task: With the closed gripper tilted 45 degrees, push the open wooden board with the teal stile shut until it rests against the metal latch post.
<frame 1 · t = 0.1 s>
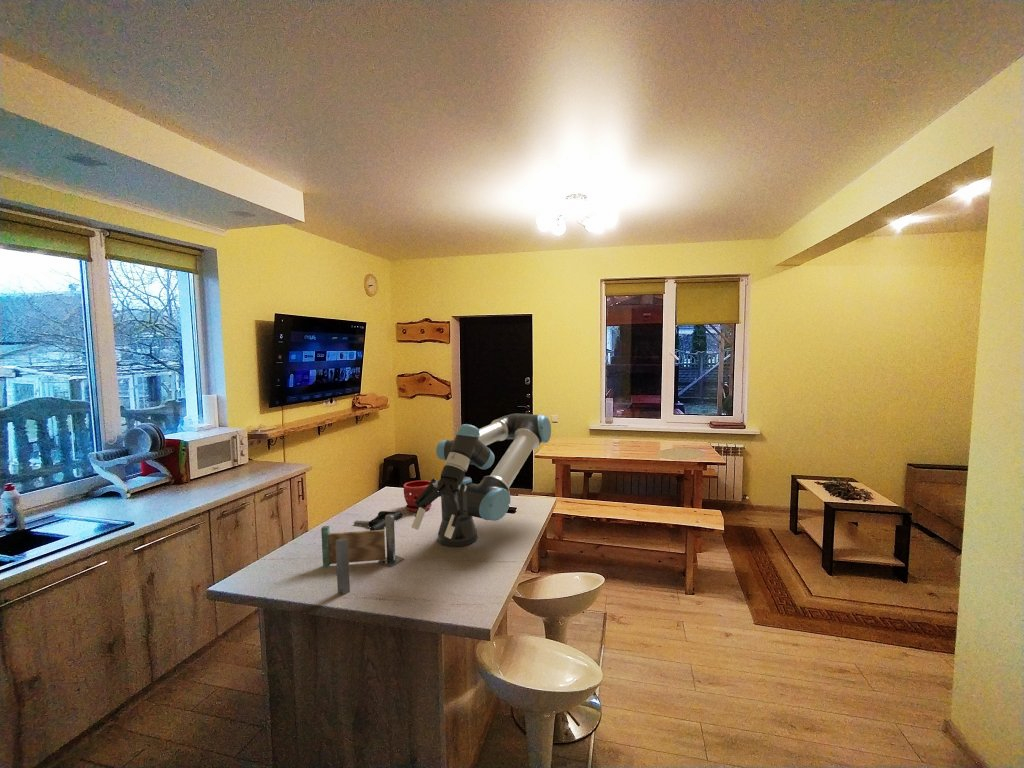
hand: (430, 533, 133), 15 cm above the table, tool tilted 35°, fingers open, 13 cm apart
wooden board: (354, 544, 146), point 7 cm above the table, hinge at -50.0°
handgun: (376, 524, 183), on the table
hinge post: (391, 561, 148), on the table
latch post: (343, 592, 129), on the table
plant pot: (418, 509, 200), on the table
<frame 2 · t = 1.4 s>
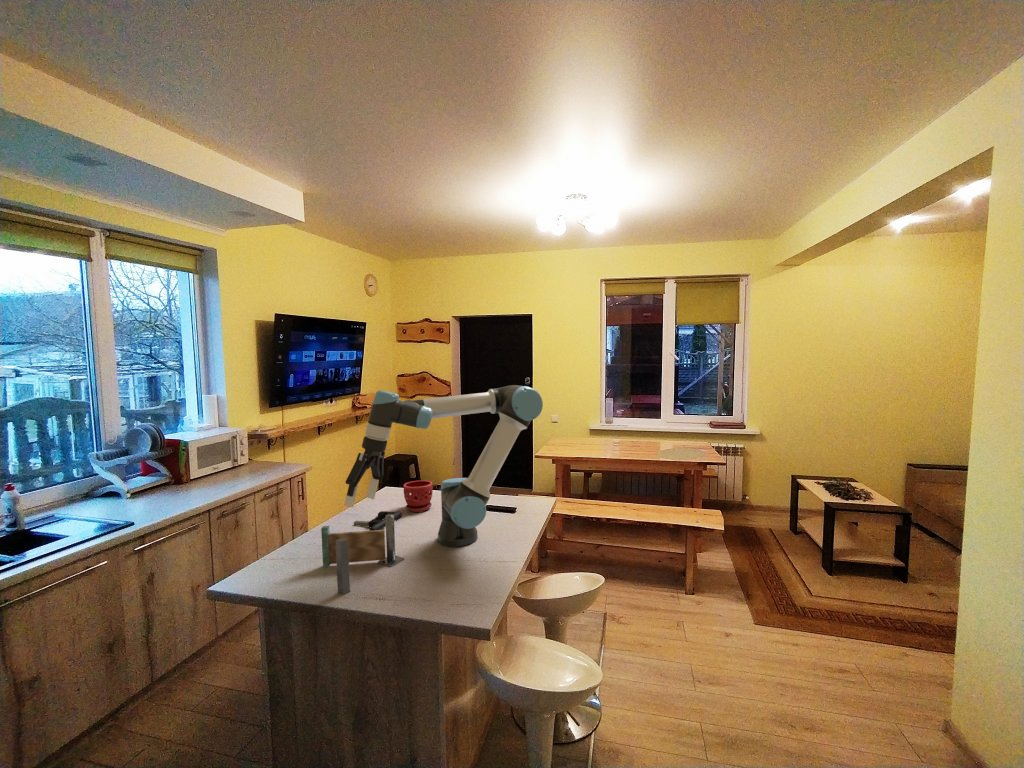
hand: (359, 501, 140), 23 cm above the table, tool tilted 15°, fingers open, 13 cm apart
nothing on the table moved.
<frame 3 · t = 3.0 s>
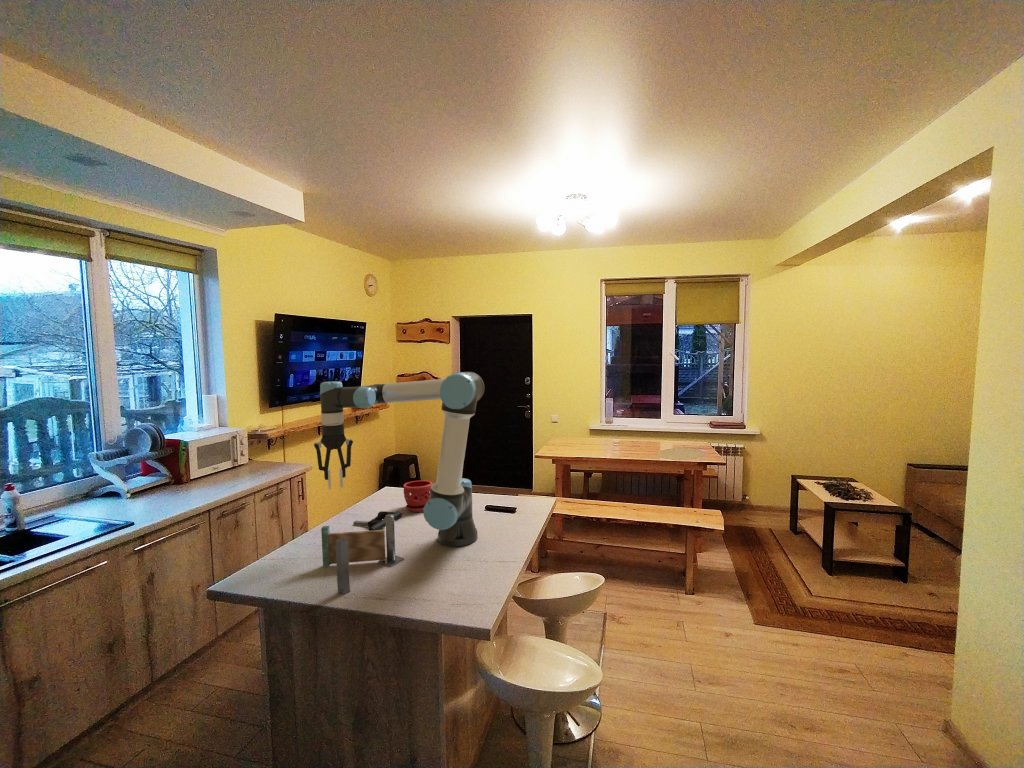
hand: (335, 487, 159), 23 cm above the table, tool pointing down, fingers open, 3 cm apart
nothing on the table moved.
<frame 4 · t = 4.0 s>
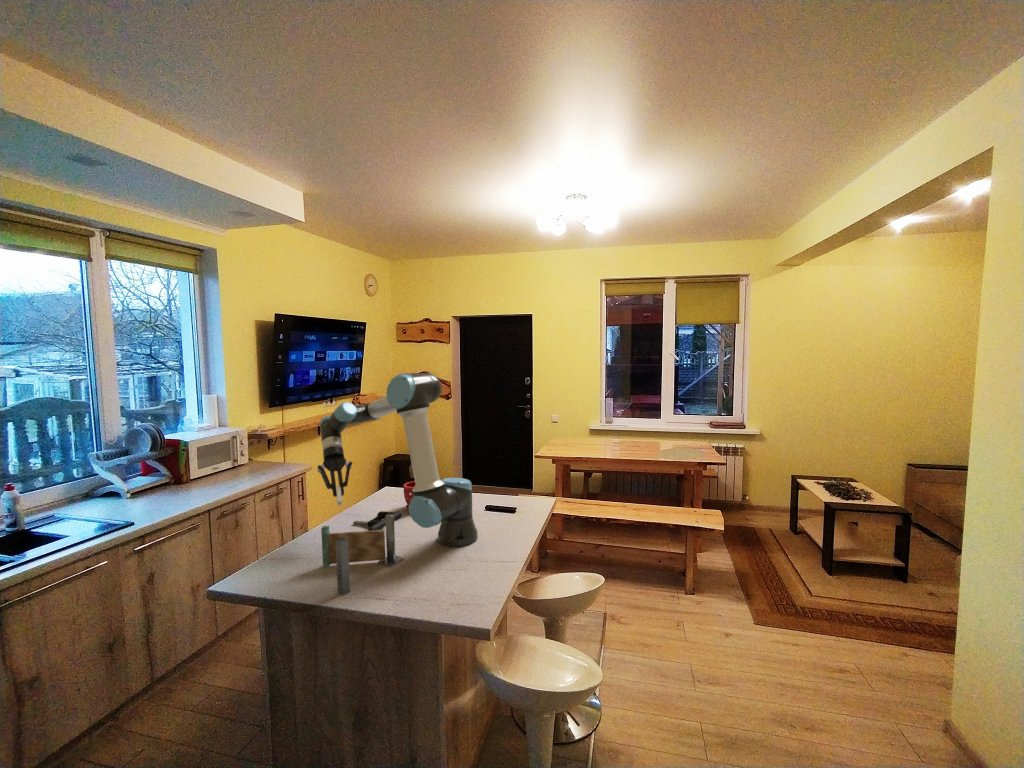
hand: (339, 503, 160), 16 cm above the table, tool tilted 45°, fingers closed
nothing on the table moved.
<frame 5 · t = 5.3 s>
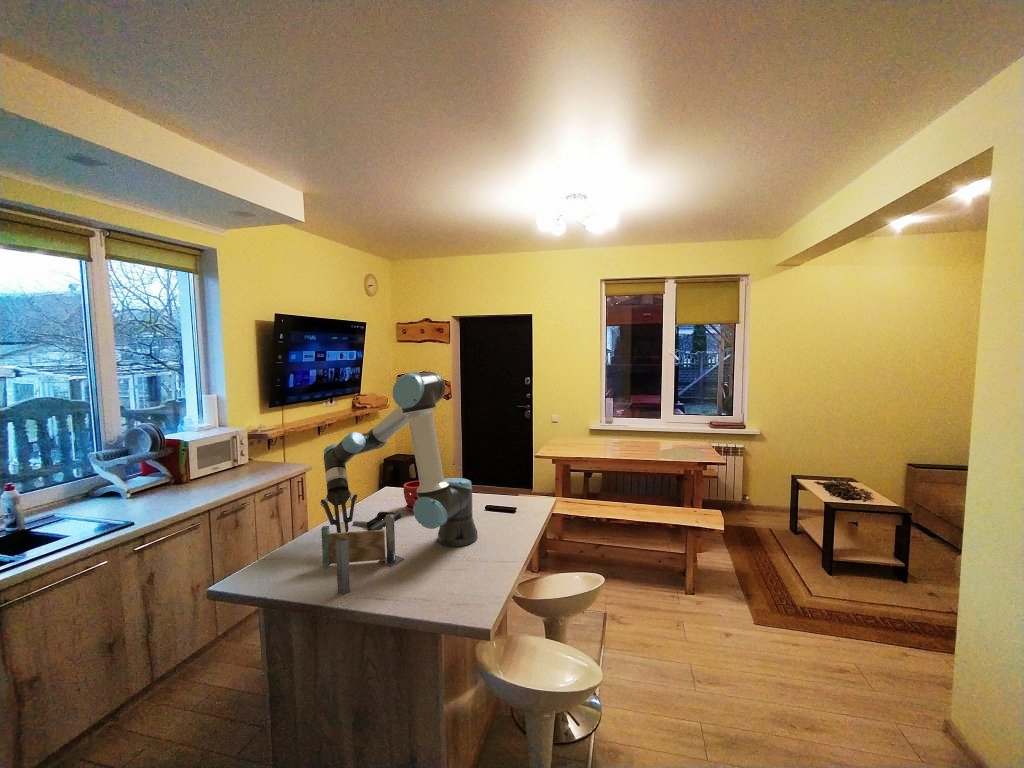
hand: (343, 541, 151), 6 cm above the table, tool tilted 45°, fingers closed
nothing on the table moved.
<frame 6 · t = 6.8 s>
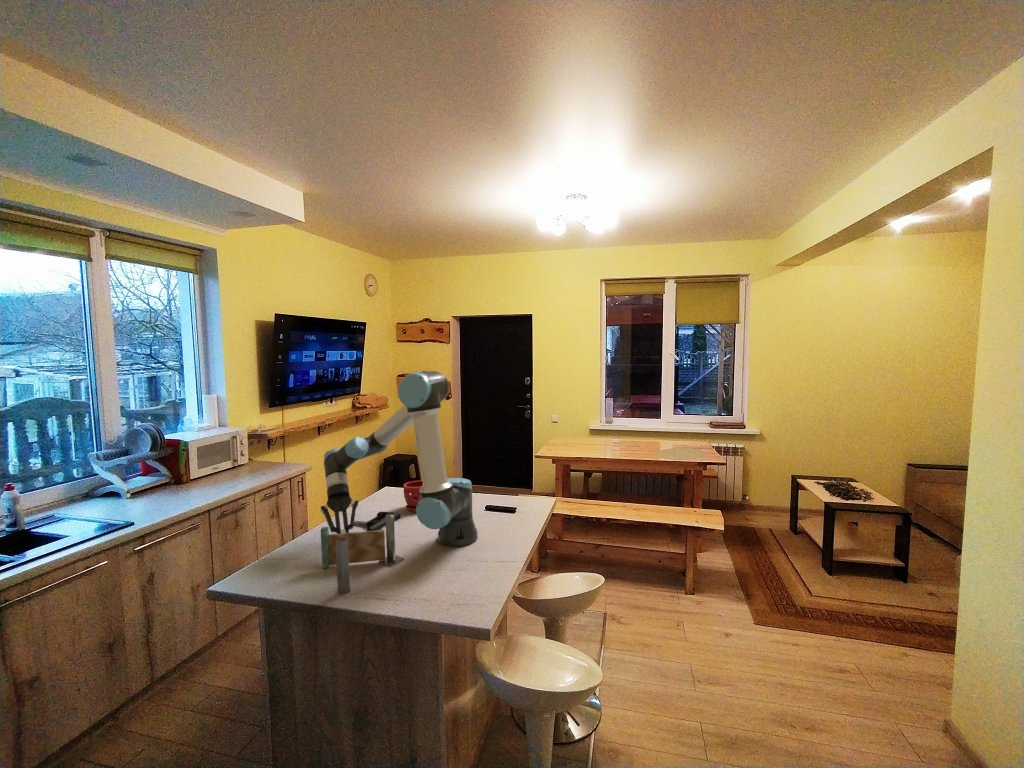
hand: (344, 549, 147), 5 cm above the table, tool tilted 45°, fingers closed
wooden board: (353, 544, 145), point 7 cm above the table, hinge at -47.4°, touching gripper
everything else where it was.
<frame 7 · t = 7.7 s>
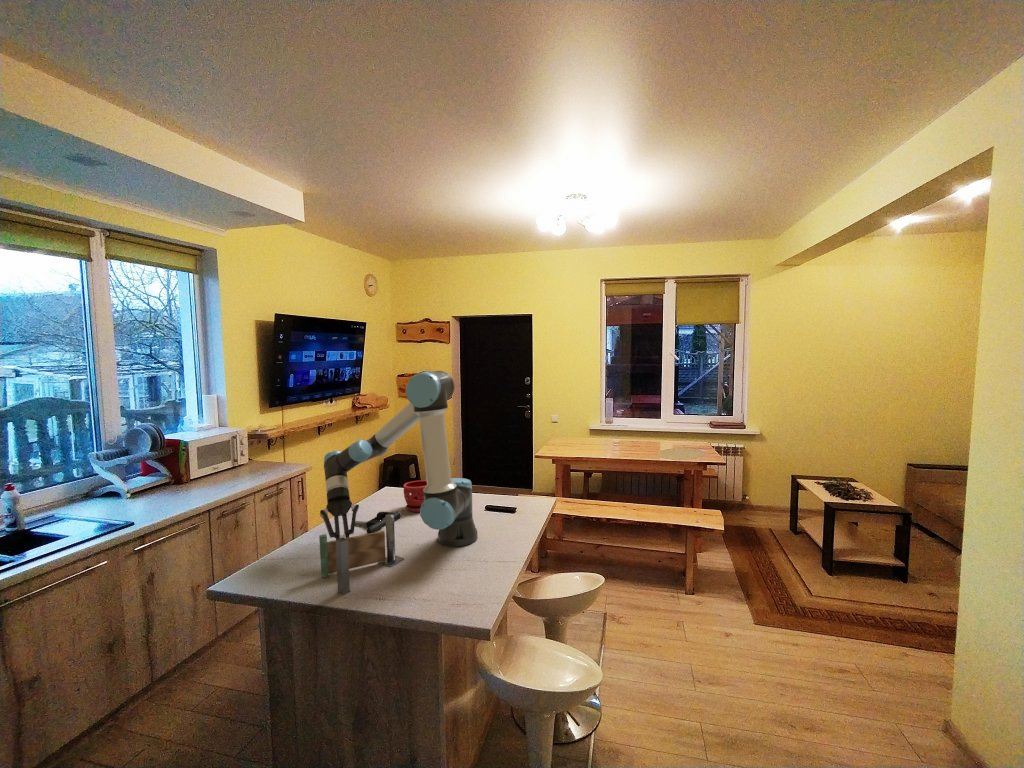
hand: (344, 555, 142), 5 cm above the table, tool tilted 45°, fingers closed
wooden board: (353, 549, 142), point 7 cm above the table, hinge at -29.3°, touching gripper
everything else where it was.
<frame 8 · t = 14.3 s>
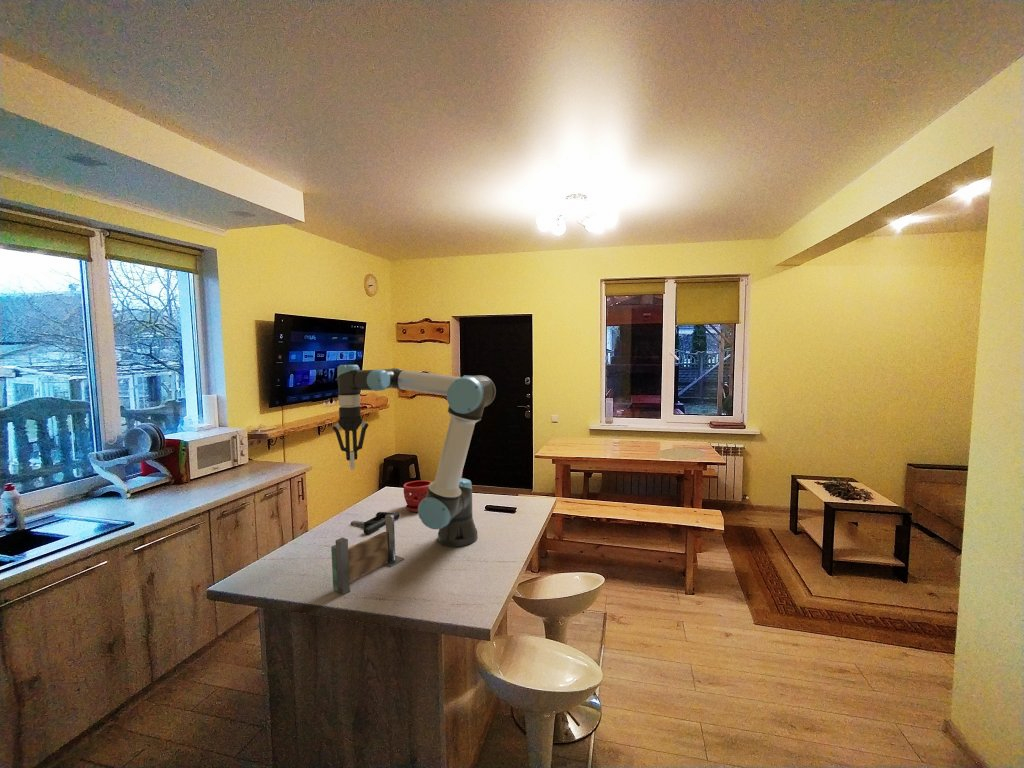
hand: (352, 468, 162), 28 cm above the table, tool pointing down, fingers closed
wooden board: (361, 555, 137), point 7 cm above the table, hinge at 0.3°
at the end: wooden board at +0° (first picture: -50°) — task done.
